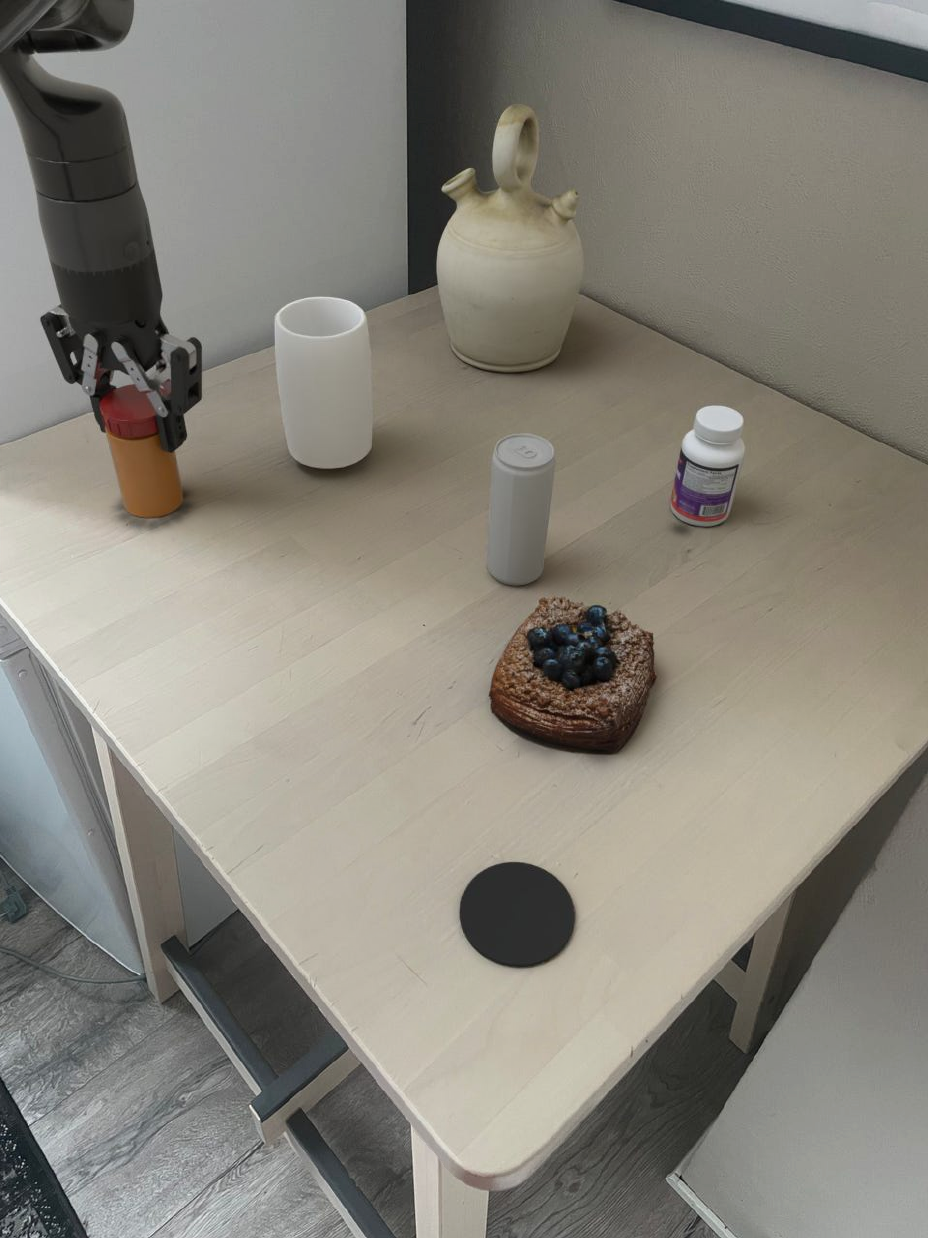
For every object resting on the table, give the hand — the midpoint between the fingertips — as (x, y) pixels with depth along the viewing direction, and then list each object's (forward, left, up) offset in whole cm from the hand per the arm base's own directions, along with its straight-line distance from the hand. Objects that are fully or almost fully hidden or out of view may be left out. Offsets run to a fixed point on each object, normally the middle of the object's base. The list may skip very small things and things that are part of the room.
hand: (142, 437), depth 87 cm
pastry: (-6, -42, -7) cm, 43 cm away
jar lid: (0, 0, +3) cm, 3 cm away
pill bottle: (+20, -45, -7) cm, 49 cm away
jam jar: (0, 0, -7) cm, 7 cm away
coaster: (-25, -45, -7) cm, 52 cm away
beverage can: (+5, -33, -7) cm, 34 cm away
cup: (+13, -11, -7) cm, 18 cm away
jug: (+40, -18, -7) cm, 44 cm away
